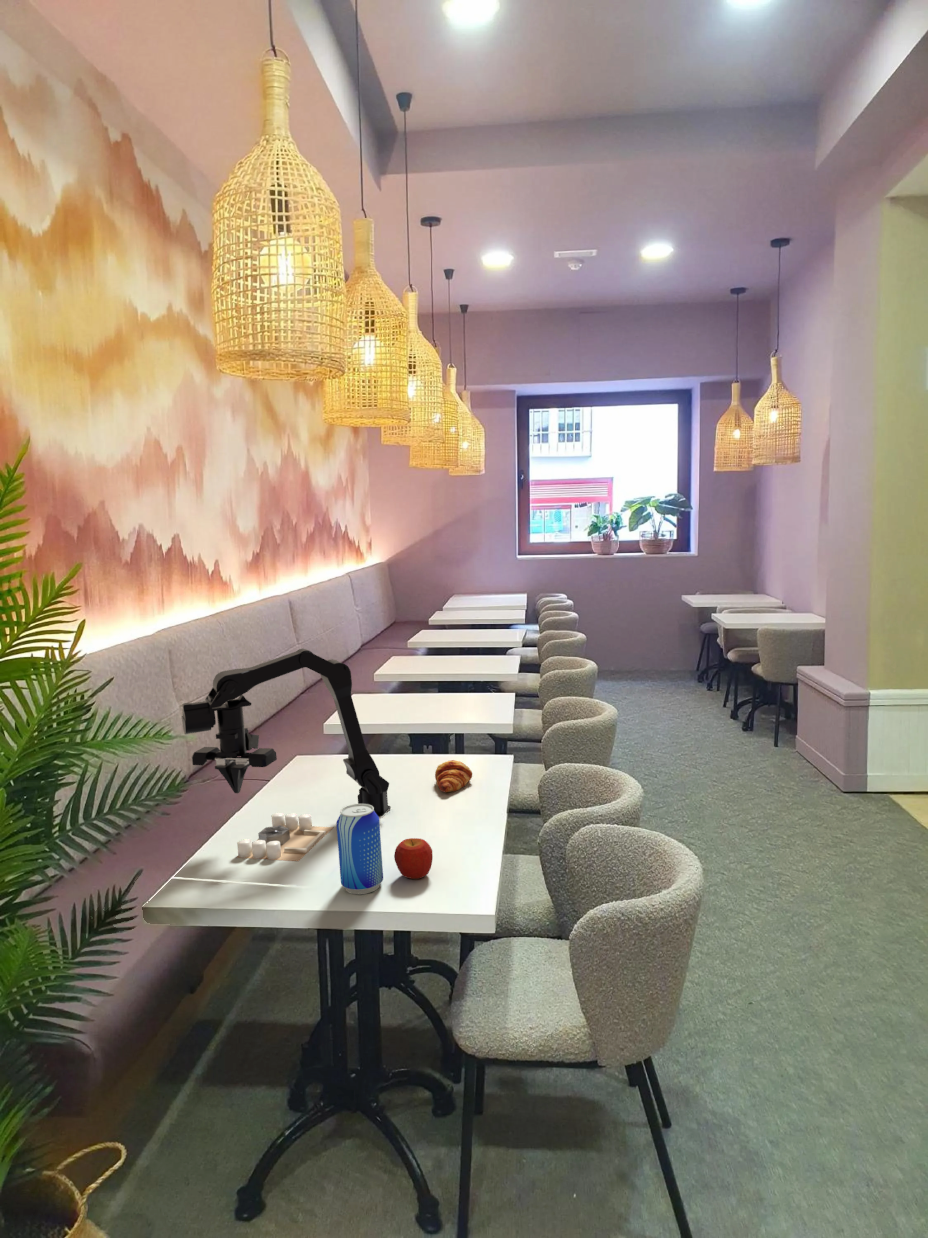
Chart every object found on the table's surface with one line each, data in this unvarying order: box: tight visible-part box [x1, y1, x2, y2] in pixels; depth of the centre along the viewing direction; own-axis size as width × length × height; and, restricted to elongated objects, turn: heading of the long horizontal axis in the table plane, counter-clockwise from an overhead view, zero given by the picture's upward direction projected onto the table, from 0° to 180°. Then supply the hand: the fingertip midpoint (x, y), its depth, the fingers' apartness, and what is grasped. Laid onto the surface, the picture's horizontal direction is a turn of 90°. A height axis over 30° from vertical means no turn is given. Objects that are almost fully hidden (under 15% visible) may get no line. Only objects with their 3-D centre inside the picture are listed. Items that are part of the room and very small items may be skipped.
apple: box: [393, 837, 434, 880], centre depth 167 cm, size 8×8×8 cm
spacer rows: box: [236, 812, 313, 861], centre depth 188 cm, size 10×19×3 cm, turn 166°
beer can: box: [335, 803, 384, 895], centre depth 163 cm, size 8×8×16 cm
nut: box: [257, 825, 290, 845], centre depth 188 cm, size 6×7×2 cm
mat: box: [235, 824, 334, 862], centre depth 187 cm, size 15×19×1 cm
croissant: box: [434, 759, 473, 793], centre depth 223 cm, size 21×10×8 cm, turn 170°
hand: (237, 792), depth 189 cm, fingers closed
